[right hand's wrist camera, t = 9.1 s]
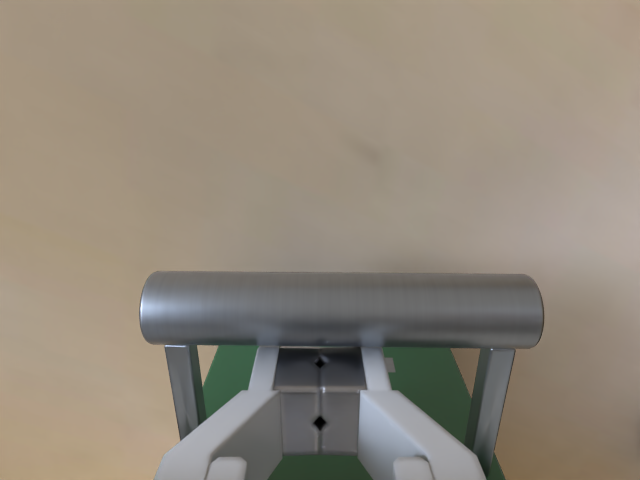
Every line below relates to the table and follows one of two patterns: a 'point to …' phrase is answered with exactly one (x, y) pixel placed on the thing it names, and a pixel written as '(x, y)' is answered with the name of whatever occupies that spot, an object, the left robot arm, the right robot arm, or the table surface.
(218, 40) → the table surface
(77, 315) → the table surface
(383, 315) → the drawer
